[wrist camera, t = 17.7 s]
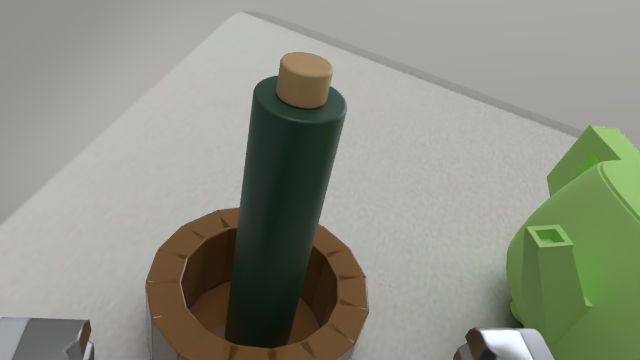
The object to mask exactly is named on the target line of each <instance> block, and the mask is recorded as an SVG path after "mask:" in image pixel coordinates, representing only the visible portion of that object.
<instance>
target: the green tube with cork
mask: <svg viewBox="0 0 640 360" xmlns="http://www.w3.org/2000/svg"><path fill="white" fill-rule="evenodd" d="M332 74H333V67H332V65H331V64H330V62H328V61H327V60H326V59H324V58H322V57H320V56H317V55H314V54H310V53H303V52H293V53H288V54H286V55H284V56H283V57H282V59H281V61H280V68H279V75H278V76H273V77H269V78H266V79H264V80H262V81H261V82H259V83H258V84H257V86H256V87H255V89H254V92H253V100H252V109H251V117H250V125H249V134H248V142H247V151H246V159H245V168H244V176H243V184H242V193H241V201H240V210H239V218H238V226H237V235H236V243H235V252H234V260H233V268H232V277H231V285H230V294H229V302H228V310H227V319H226V327H225V339H226V340H227V341H229V342H231V343H233V344H235V345H244V346H252V347H261V348H270V349H273V348H277V347H281V346H285V345H287V344H288V341H289V337H290V333H291V329H292V326H293V322H294V318H295V314H296V310H297V306H298V302H299V298H300V294H301V290H302V286H303V282H304V278H305V274H306V270H307V266H308V262H309V258H310V254H311V250H312V246H313V242H314V238H315V234H316V230H317V226H318V222H319V219H320V215H321V211H322V207H323V203H324V199H325V195H326V191H327V187H328V183H329V179H330V175H331V171H332V167H333V163H334V159H335V155H336V151H337V147H338V143H339V139H340V135H341V131H342V127H343V123H344V119H345V115H346V112H347V104H346V101H345V99H344V97H343V96H342V95H341V94H340V93H339V92H338V91H337V90H336V89H334V88H333V87H331V86H330V83H331V78H332Z"/></svg>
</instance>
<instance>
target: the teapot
mask: <svg viewBox="0 0 640 360" xmlns="http://www.w3.org/2000/svg"><path fill="white" fill-rule="evenodd" d="M547 181H548V187H549V193H550V198H549V199H548V200H546V201H545V202H544V203H543V204H542V205H541V206H540V207H539V208H538V209H537V210H536V211H535V212H534V213H533V214H532V215H531V216H530V217H529V218H528V220H527V221H526V222H525V223H524V224H523V226H522V227H521V228H520V229H519V231H518V232H517V233H516V235H515V236H514V238H513V240H512V241H511V243H510V245H509V247H508V251H507V264H506V270H507V279H508V284H509V288H510V292H511V295H512V298H513V300H512V301H511V303H510V310H511V312H512V314H513V316H514V317H515V318H516V319H517V321H519V322H520V323H521V324H522V325H524V327H525V328H531V329H536V330H537V331H538V332H539V333H540V334H541V336H542V337H543V339H544V341H545V343H546V345H547V347H548V349H549V351H550V352H551V354H552V356H553V358H554V360H640V151H639V150H638V149H637V148H636V147H635V146H634V145H633V144H632V143H631V142H630V141H629V140H628V139H627V138H626V137H625V136H624V135H623V134H622V133H621V132H620V131H619V130H618V129H617V128H612V127H601V126H591V125H589V127H588V128H587V129H586V130H585V131H584V133H583V134H582V135H581V136H580V138H579V139H578V140H577V141H576V142H575V144H574V145H573V146H572V147H571V148H570V150H569V151H568V152H567V153H566V154H565V156H564V157H563V158H562V159H561V160H560V162H559V163H558V164H557V165H556V166H555V168H554V169H553V170H552V171H551V172H550V174H549V175H548V176H547Z"/></svg>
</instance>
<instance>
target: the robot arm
mask: <svg viewBox="0 0 640 360" xmlns="http://www.w3.org/2000/svg"><path fill="white" fill-rule="evenodd" d="M90 333H91V326H90V321H89V320H76V319H45V318H20V317H2V318H1V320H0V360H94V345H93V343H92V342H91V341H89V336H90ZM465 337H466V340H467V343H466V344H464V345H462V346H461V347H459V348H458V349H457V351H456V353H455V355H454V357H453V360H554V358H553V356H552V354H551V352H550V351H549V349H548V347H547V345H546V343H545V341H544V339H543V337H542V336H541V334H540V333H539V332H538V331H537V330H536V329H531V328H473V329H470V330H469V331H468V333H467V335H466V336H465Z"/></svg>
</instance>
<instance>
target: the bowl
mask: <svg viewBox="0 0 640 360" xmlns="http://www.w3.org/2000/svg"><path fill="white" fill-rule="evenodd" d="M239 210H240V207H239V208H231V209H223V210H217V211H214V212H212V213H210V214H207V215H205V216H203V217H201V218H198V219H196V220H194V221H191V222H189V223H187V224H185V225H184V226H181V227H180V228H179V229H178V230H177V231H176V232H175V233H174V234H173V235H172V236H171V237H170V238H169V239H168V240H167V241H166V242H165V243H164V244H163V245H162V246H161V247H160V248H159V249H158V251H157V252H156V255H155V258H154V260H153V263H152V266H151V269H150V271H149V274H148V277H147V279H146V285H145V293H146V318H147V340H148V347H149V353H150V360H350V359H351V357H352V354H353V352H354V349H355V346H356V344H357V341H358V339H359V336H360V334H361V331H362V329H363V326H364V324H365V321H366V319H367V316H368V314H369V303H368V292H367V281H366V276H365V274H364V272H363V270H362V269H361V267H360V265H359V263H358V262H357V260H356V258H355V256H354V255H353V253H352V251H351V250H350V248H349V247H348V246H346V245H345V244H344V243H343V242H342V241H341V240H339V239H338V238H337V237H336V236H335V235H333V234H332V233H331V232H330V231H329V230H327V229H326V228H325V227H324V226H321V225H320V224H318V226H317V230H316V234H315V238H314V242H313V246H312V250H311V254H310V258H309V262H308V266H307V270H306V274H305V278H304V282H303V286H302V290H301V294H300V298H299V302H298V306H297V310H296V314H295V318H294V322H293V326H292V329H291V333H290V337H289V341H288V344H287V345H285V346H281V347H277V348H273V349H270V348H261V347H252V346H244V345H235V344H233V343H231V342H229V341H227V340H226V339H225V327H226V319H227V310H228V302H229V294H230V285H231V277H232V268H233V260H234V252H235V243H236V235H237V226H238V218H239Z"/></svg>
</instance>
